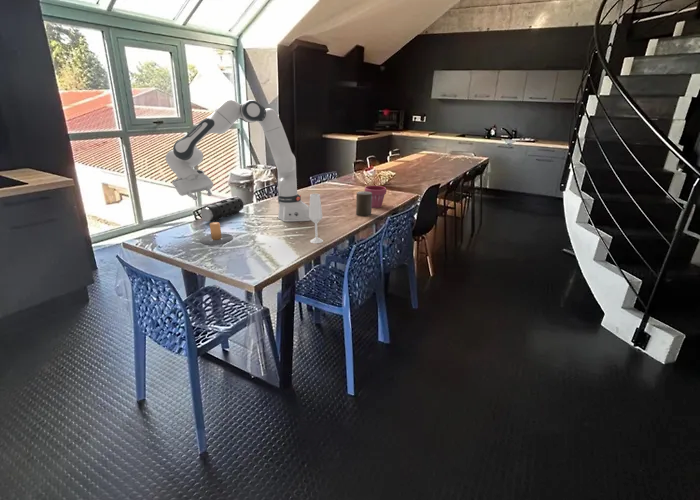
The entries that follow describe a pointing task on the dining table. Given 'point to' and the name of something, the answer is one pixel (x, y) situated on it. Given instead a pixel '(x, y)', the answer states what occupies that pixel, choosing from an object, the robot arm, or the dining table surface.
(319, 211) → the champagne flute
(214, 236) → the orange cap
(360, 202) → the pillar candle
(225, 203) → the muzzle brake
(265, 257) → the dining table surface
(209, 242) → the slate plate
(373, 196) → the plant pot
